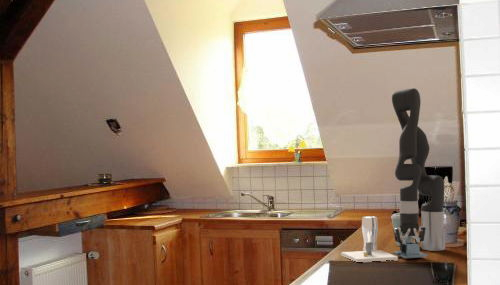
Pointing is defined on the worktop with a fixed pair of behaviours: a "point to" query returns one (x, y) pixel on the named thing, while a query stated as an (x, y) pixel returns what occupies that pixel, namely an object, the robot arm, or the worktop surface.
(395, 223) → the disposable coffee cup
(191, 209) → the worktop surface
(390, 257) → the post base
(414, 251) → the flange
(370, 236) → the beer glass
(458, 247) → the worktop surface
